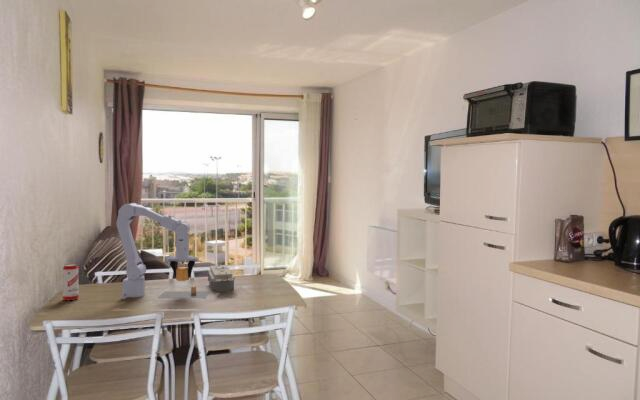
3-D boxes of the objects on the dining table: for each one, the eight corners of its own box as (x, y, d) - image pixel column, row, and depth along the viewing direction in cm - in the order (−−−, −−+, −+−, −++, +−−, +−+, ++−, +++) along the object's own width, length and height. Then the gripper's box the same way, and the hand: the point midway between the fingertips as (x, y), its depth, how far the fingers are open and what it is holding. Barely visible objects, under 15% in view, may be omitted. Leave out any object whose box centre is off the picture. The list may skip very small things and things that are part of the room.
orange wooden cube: (175, 280, 207) (174, 269, 207) (178, 278, 213) (178, 266, 213) (187, 280, 208) (187, 269, 208) (190, 278, 213) (190, 266, 213)
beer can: (81, 298, 205) (81, 264, 205) (69, 302, 200) (68, 266, 199) (72, 297, 208) (72, 263, 207) (59, 300, 202) (59, 265, 202)
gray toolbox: (227, 280, 245) (228, 262, 244) (236, 296, 219) (237, 276, 217) (205, 281, 241) (206, 263, 240) (212, 298, 214) (212, 278, 213)
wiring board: (157, 300, 205) (157, 289, 205) (164, 293, 217) (164, 283, 217) (205, 300, 206) (205, 289, 206) (210, 293, 218) (210, 283, 218)
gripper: (164, 249, 205) (164, 278, 206) (196, 249, 206) (196, 278, 207) (168, 247, 212) (169, 275, 213) (199, 247, 213) (199, 275, 214)
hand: (182, 277), depth 210 cm, fingers closed on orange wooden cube, 6 cm apart
